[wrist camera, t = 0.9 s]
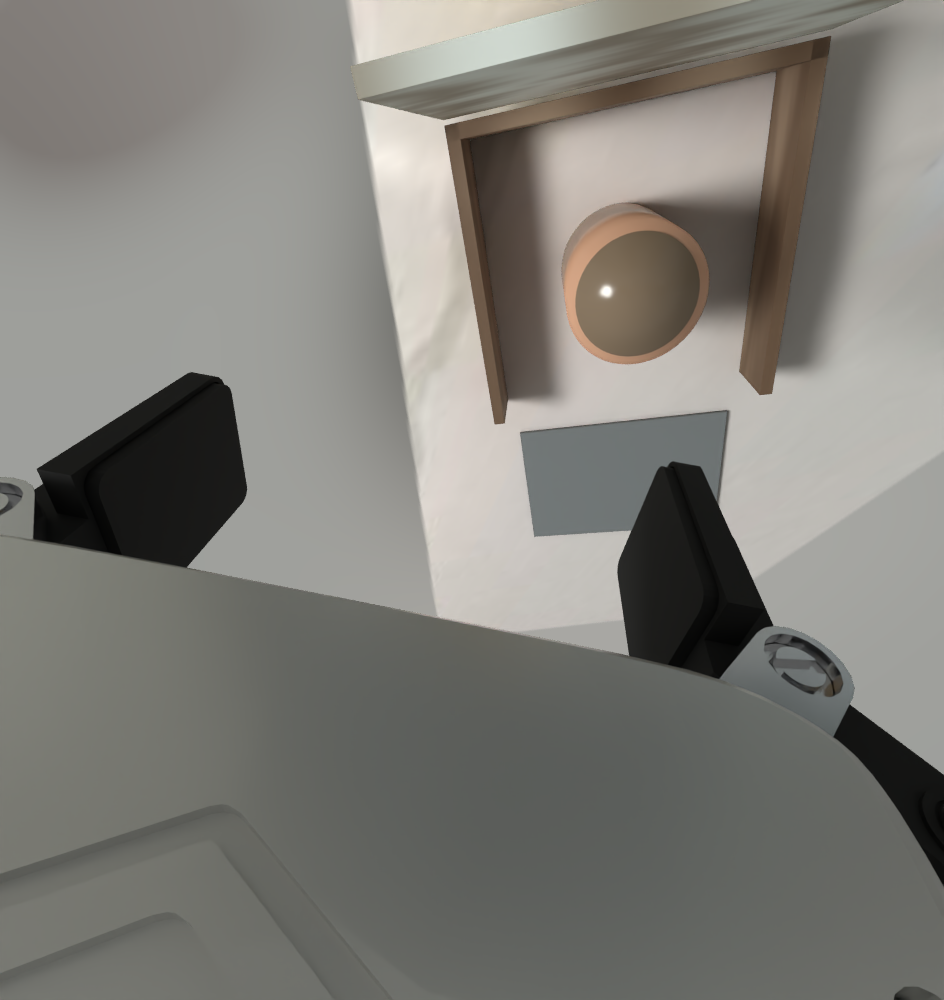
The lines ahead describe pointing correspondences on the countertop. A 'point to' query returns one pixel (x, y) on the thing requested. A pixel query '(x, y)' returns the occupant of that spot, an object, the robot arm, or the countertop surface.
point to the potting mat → (612, 468)
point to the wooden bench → (614, 55)
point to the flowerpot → (632, 283)
